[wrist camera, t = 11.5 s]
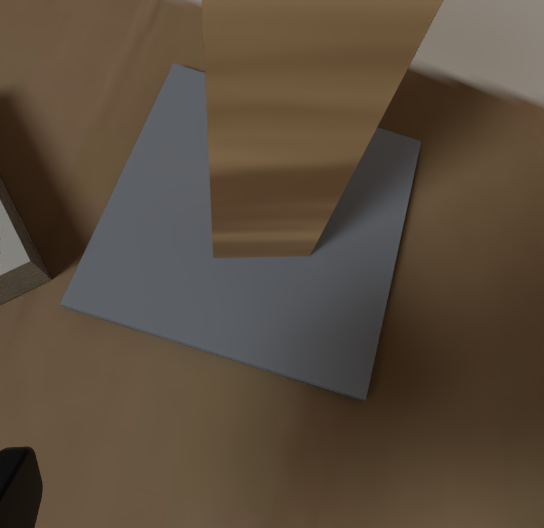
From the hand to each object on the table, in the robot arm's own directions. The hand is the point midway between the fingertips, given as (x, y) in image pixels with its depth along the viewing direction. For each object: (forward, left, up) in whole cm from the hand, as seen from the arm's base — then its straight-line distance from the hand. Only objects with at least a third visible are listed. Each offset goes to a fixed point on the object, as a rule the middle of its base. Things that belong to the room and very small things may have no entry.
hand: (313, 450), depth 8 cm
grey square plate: (+3, -8, -8) cm, 12 cm away
